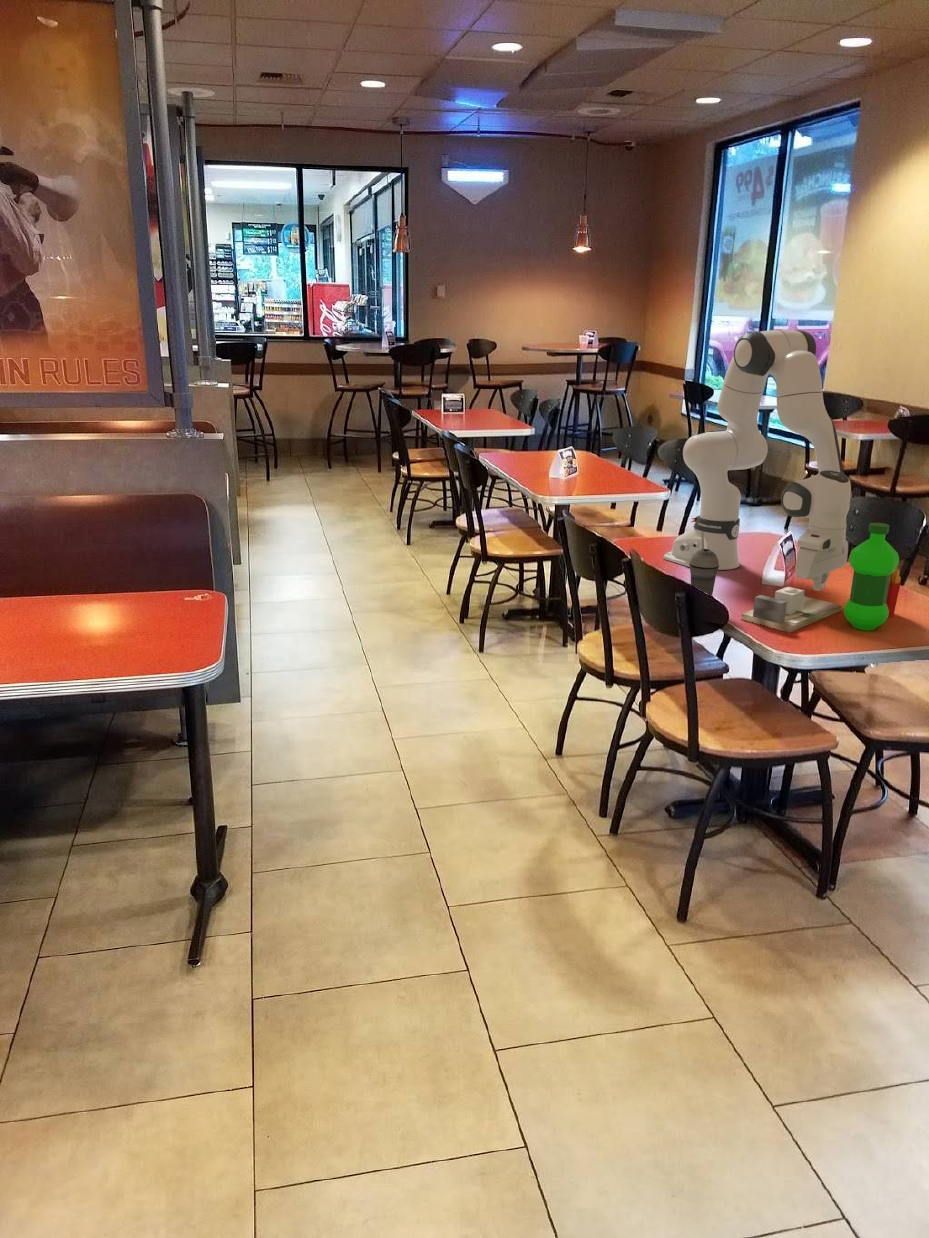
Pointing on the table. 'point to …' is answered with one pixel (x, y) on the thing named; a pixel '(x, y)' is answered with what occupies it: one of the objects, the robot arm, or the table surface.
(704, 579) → the beverage cup
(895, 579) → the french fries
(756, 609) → the frame
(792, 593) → the block
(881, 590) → the plastic bottle
